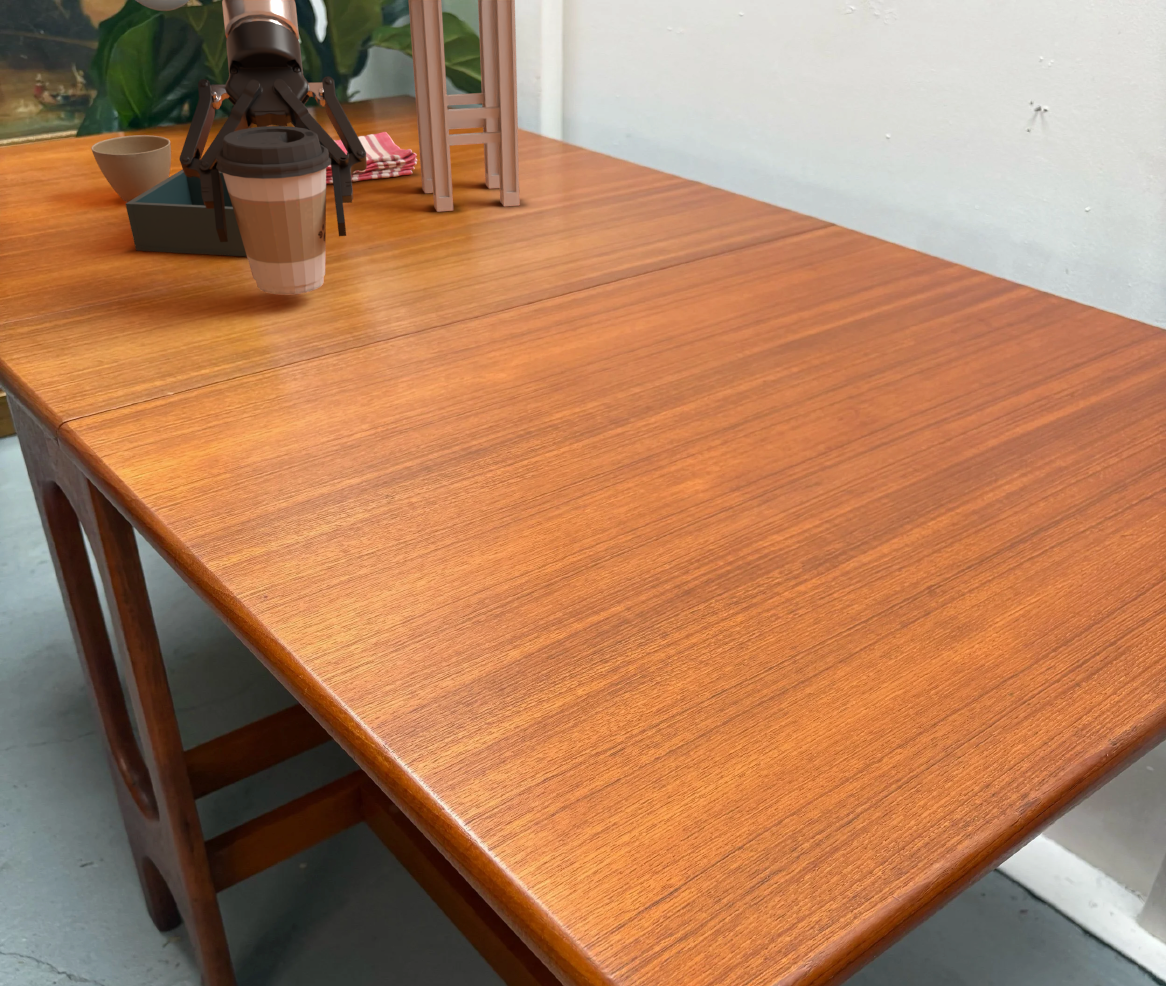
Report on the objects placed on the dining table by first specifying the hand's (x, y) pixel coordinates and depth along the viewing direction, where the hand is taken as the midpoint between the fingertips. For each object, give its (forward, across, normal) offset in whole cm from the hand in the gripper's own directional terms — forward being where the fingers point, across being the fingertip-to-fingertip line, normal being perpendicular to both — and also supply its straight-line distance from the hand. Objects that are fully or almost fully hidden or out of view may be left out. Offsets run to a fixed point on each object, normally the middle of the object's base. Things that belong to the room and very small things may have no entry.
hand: (282, 232), depth 112 cm
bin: (-14, +9, -26) cm, 31 cm away
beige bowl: (-27, +20, -39) cm, 51 cm away
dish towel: (-35, -5, -46) cm, 58 cm away
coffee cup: (+3, 0, -6) cm, 7 cm away
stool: (-22, -24, -33) cm, 46 cm away
